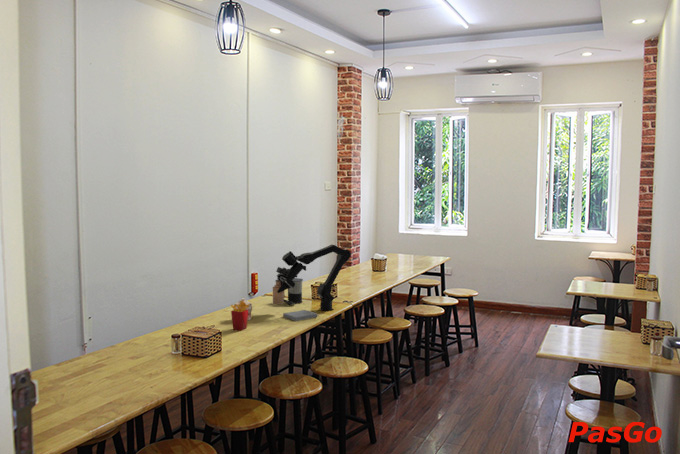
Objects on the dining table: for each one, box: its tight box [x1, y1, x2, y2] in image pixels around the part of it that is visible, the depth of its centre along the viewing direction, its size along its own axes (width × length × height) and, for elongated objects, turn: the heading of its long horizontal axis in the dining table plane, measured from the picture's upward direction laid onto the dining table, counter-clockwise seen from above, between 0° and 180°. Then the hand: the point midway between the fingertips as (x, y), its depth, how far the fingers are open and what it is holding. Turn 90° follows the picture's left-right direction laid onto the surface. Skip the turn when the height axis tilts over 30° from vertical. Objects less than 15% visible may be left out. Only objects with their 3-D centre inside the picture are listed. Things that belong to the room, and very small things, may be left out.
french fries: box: [230, 301, 250, 332], centre depth 282 cm, size 9×8×15 cm
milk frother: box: [284, 277, 304, 306], centre depth 344 cm, size 14×16×15 cm
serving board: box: [282, 309, 318, 322], centre depth 310 cm, size 15×12×2 cm
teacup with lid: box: [235, 297, 253, 322], centre depth 303 cm, size 12×9×12 cm
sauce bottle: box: [272, 279, 285, 305], centre depth 315 cm, size 6×6×13 cm
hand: (275, 291), depth 315 cm, fingers closed on sauce bottle, 6 cm apart
